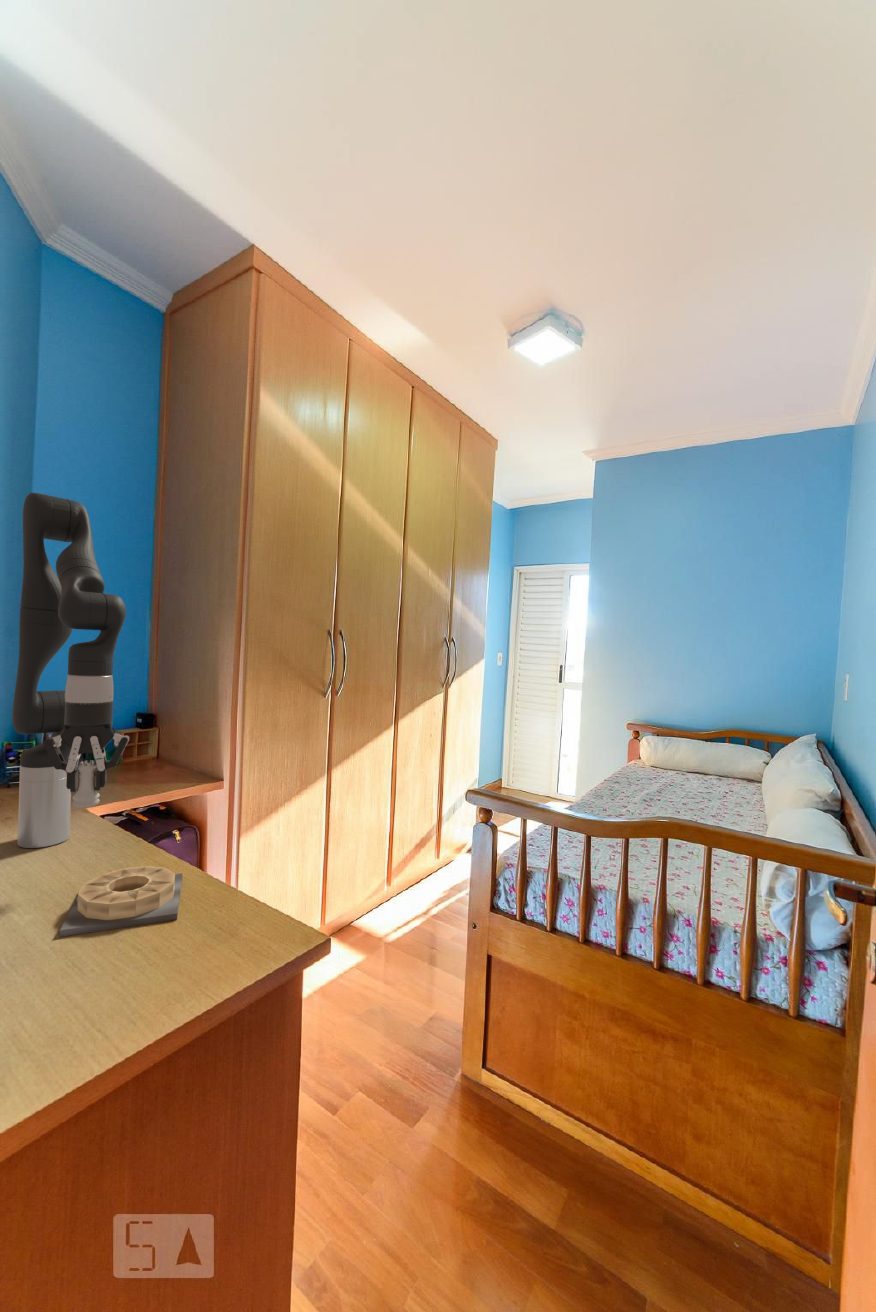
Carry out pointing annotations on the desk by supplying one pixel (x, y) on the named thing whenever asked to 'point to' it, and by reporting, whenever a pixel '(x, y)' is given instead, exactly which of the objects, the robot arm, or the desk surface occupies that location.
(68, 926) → the gray square plate
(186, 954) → the desk surface
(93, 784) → the rook chess piece
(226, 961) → the desk surface
